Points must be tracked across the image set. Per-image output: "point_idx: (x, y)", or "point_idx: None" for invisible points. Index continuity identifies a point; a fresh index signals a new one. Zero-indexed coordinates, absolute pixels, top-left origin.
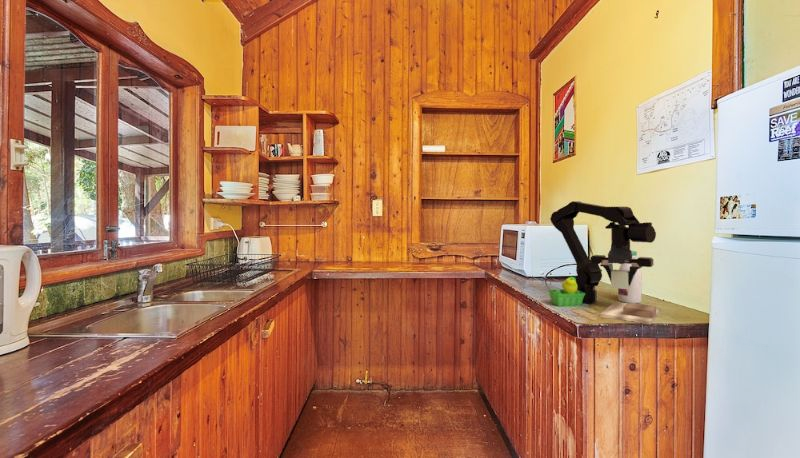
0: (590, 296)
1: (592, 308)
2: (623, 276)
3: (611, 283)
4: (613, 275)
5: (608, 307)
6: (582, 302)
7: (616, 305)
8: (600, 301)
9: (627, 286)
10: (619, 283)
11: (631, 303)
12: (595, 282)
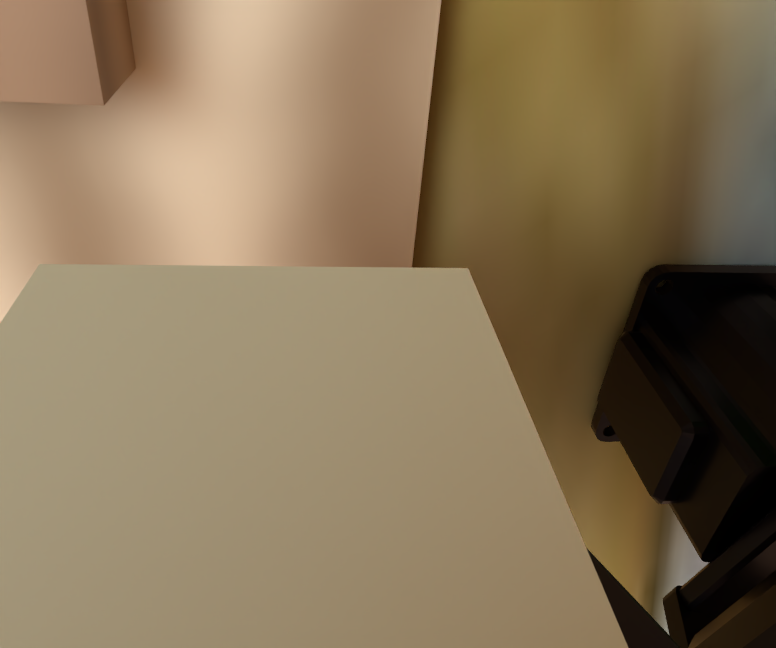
0: (705, 361)
1: (654, 4)
2: (10, 630)
3: (491, 340)
4: (505, 608)
5: (433, 30)
6: (759, 266)
7: (350, 251)
8: (548, 446)
9: (10, 318)
10: (247, 360)
11: (19, 41)
12: (746, 595)
